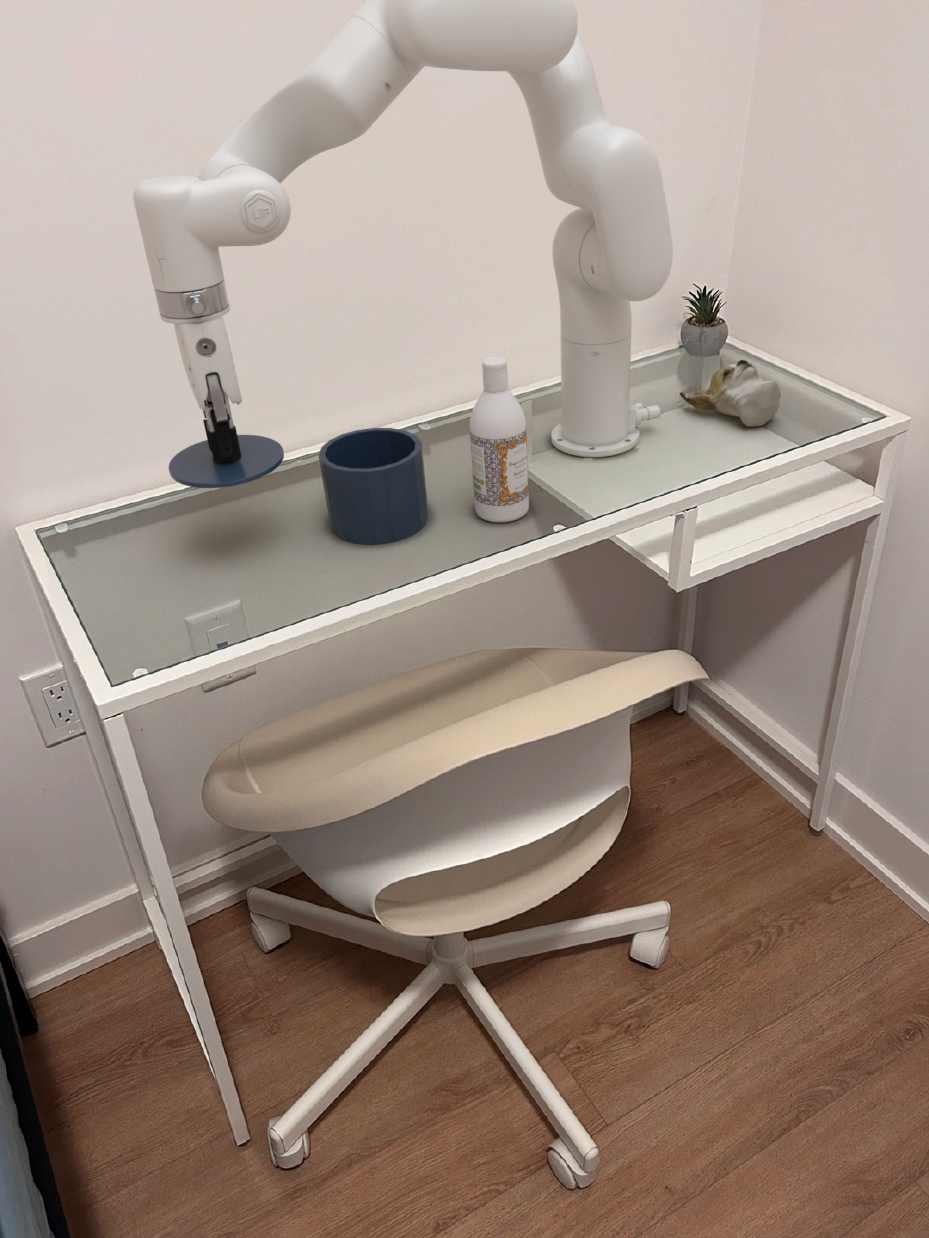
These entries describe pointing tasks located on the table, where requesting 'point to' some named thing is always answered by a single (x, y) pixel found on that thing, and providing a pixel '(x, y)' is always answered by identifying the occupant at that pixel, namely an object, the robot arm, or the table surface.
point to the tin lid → (226, 463)
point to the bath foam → (499, 448)
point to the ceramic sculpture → (738, 394)
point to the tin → (374, 485)
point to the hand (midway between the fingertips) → (225, 453)
